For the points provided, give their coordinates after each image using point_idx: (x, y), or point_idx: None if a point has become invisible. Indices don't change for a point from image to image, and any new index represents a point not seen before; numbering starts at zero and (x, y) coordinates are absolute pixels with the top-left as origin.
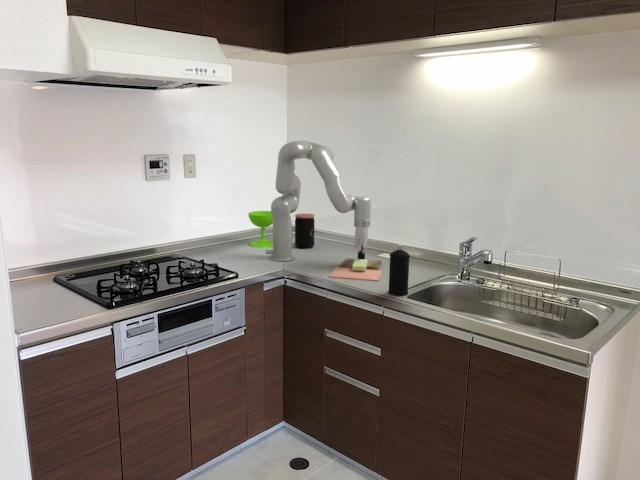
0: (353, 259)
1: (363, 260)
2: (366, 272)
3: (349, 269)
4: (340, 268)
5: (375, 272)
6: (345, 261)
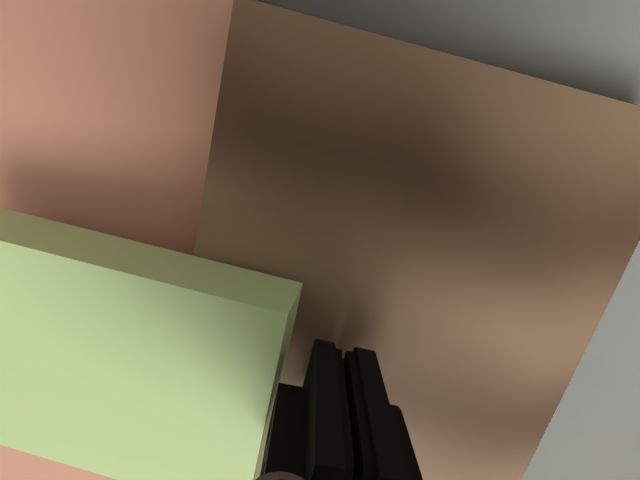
0: (575, 266)
1: (200, 446)
2: None
3: (132, 167)
4: (172, 13)
5: (54, 473)
6: (448, 112)
